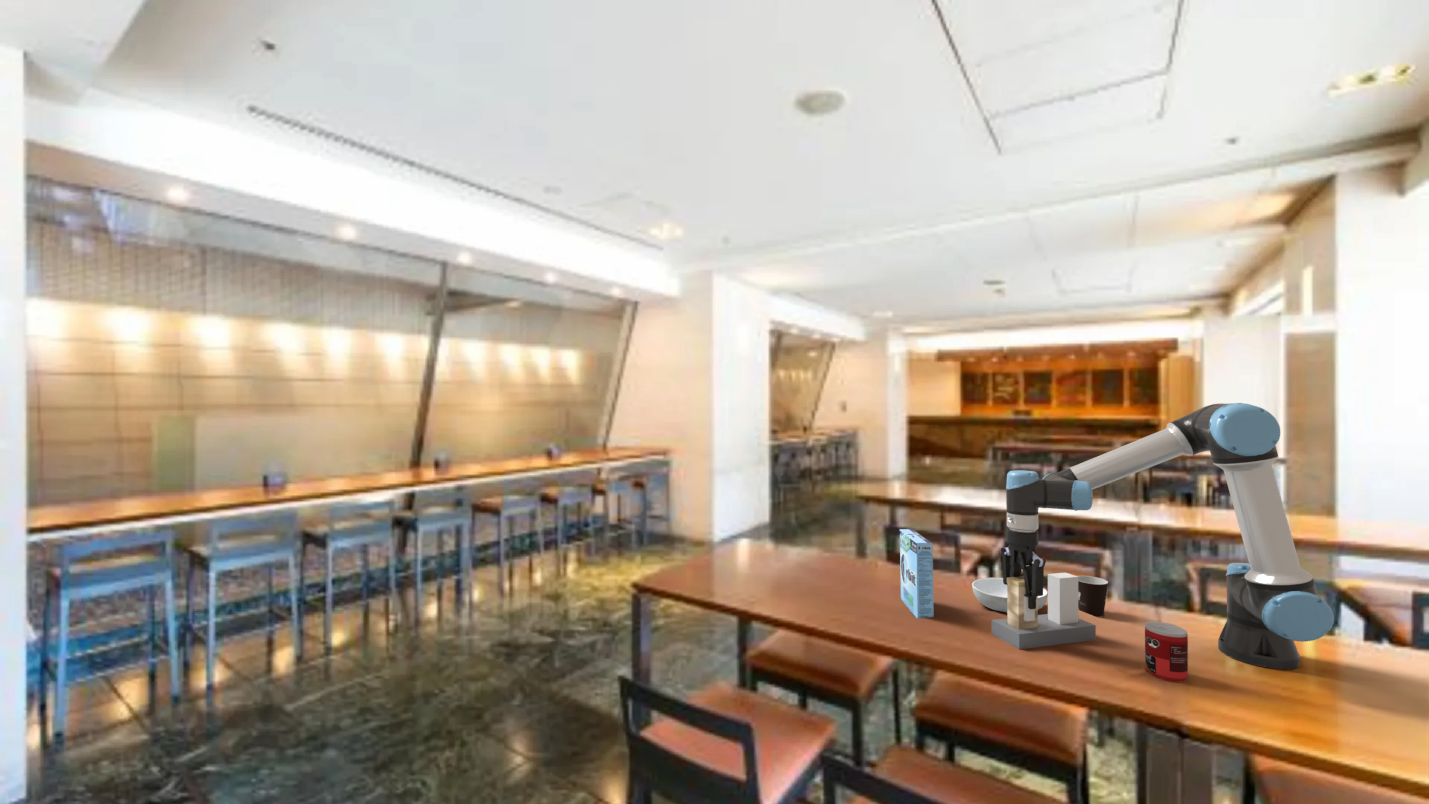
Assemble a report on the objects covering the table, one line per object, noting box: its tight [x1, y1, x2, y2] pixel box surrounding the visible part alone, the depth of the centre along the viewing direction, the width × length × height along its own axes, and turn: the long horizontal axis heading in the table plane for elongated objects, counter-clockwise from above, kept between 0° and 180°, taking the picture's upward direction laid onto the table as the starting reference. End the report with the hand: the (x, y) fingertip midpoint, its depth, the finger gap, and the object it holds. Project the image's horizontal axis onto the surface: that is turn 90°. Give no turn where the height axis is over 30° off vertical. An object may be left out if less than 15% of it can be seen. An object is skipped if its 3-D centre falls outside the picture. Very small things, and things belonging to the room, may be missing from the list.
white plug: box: [1047, 572, 1079, 625], centre depth 158 cm, size 4×6×16 cm, turn 104°
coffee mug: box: [1076, 575, 1109, 618], centre depth 179 cm, size 12×9×10 cm
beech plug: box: [1006, 575, 1039, 629], centre depth 155 cm, size 4×6×16 cm
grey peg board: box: [991, 613, 1097, 650], centre depth 156 cm, size 10×24×5 cm, turn 104°
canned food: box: [1144, 621, 1189, 683], centre depth 137 cm, size 8×8×11 cm
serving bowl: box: [971, 577, 1048, 614], centre depth 181 cm, size 21×21×7 cm
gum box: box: [899, 528, 935, 620], centre depth 181 cm, size 20×5×23 cm, turn 177°
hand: (1022, 616), depth 155 cm, fingers closed on beech plug, 4 cm apart
